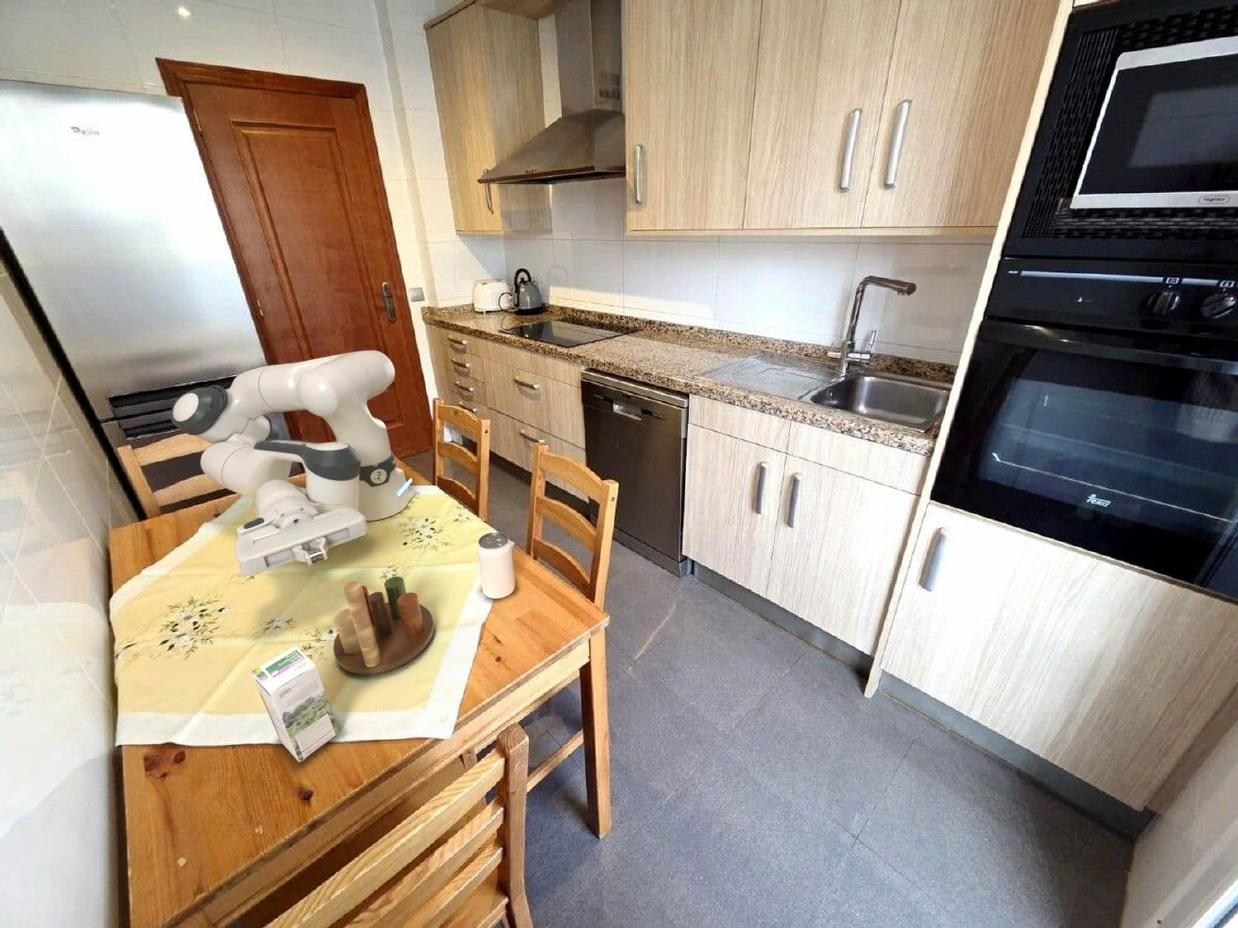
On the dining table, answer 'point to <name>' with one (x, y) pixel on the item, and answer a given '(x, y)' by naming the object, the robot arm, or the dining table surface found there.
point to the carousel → (380, 628)
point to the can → (496, 565)
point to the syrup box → (296, 702)
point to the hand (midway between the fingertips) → (317, 558)
